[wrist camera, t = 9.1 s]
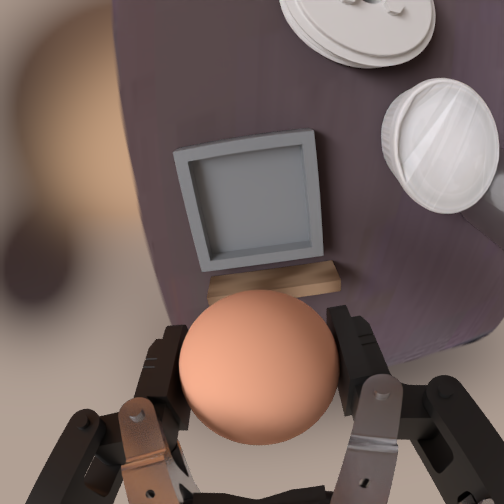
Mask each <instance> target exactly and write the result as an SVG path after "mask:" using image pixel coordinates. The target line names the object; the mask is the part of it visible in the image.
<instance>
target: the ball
mask: <svg viewBox="0 0 504 504" xmlns="http://www.w3.org/2000/svg"><path fill="white" fill-rule="evenodd" d="M339 374H340V364H339V354H338V350H337V345H336V342H335V339H334V337H333V335H332V333H331V331H330V329H329V327H328V326H327V324H326V323H325V322H324V320H323V319H322V318H321V317H320V316H319V315H318V314H317V313H316V312H315V311H314V310H313V309H312V308H311V307H310V306H308V305H307V304H305V303H304V302H302V301H300V300H299V299H297V298H295V297H293V296H290V295H287V294H284V293H280V292H276V291H270V290H249V291H243V292H239V293H235V294H232V295H229V296H227V297H225V298H222V299H220V300H219V301H217V302H216V303H214V304H213V305H211V306H210V307H209V308H207V309H206V310H205V311H204V312H203V313H202V314H201V315H200V316H199V317H198V318H197V319H196V320H195V322H194V323H193V324H192V326H191V328H190V329H189V331H188V333H187V335H186V337H185V339H184V342H183V345H182V348H181V352H180V358H179V379H180V383H181V387H182V391H183V394H184V396H185V398H186V401H187V403H188V405H189V406H190V408H191V409H192V411H193V412H194V414H195V415H196V416H197V418H198V419H199V420H200V421H201V422H202V423H203V424H204V425H205V426H207V427H208V428H209V429H211V430H212V431H214V432H215V433H216V434H218V435H220V436H222V437H224V438H227V439H229V440H231V441H234V442H238V443H242V444H248V445H269V444H276V443H280V442H284V441H287V440H289V439H292V438H294V437H296V436H298V435H300V434H302V433H303V432H305V431H306V430H307V429H309V428H310V427H311V426H313V425H314V424H315V423H316V422H317V421H318V420H319V419H320V417H321V416H322V415H323V414H324V412H326V410H327V408H328V407H329V405H330V403H331V401H332V399H333V397H334V395H335V392H336V389H337V386H338V380H339Z"/></svg>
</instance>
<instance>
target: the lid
mask: <svg viewBox="0 0 504 504" xmlns="http://www.w3.org/2000/svg"><path fill="white" fill-rule="evenodd" d="M279 1H280V5H281V9H282V11H283V14H284V16H285V18H286V20H287V22H288V23H289V25H290V26H291V28H292V29H293V31H294V32H295V33H296V34H297V35H298V37H299V38H300V39H301V40H303V41H304V42H305V43H306V44H307V45H308V46H309V47H311V48H312V49H313V50H314V51H316V52H318V53H319V54H321V55H323V56H324V57H326V58H328V59H330V60H332V61H335V62H338V63H340V64H343V65H347V66H351V67H357V68H379V67H385V66H393V65H397V64H401V63H404V62H406V61H409V60H411V59H412V58H414V57H416V56H417V55H418V54H420V53H421V52H422V51H423V50H424V49H425V47H426V46H427V45H428V43H429V41H430V39H431V37H432V35H433V32H434V27H435V7H434V2H433V0H364V1H363V0H279Z"/></svg>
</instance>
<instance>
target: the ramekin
mask: <svg viewBox="0 0 504 504" xmlns="http://www.w3.org/2000/svg"><path fill="white" fill-rule="evenodd" d="M381 140H382V151H383V154H384V158H385V160H386V162H387V165H388V166H389V168H390V170H391V171H392V173H393V174H394V176H395V177H396V178H397V179H398V180H399V182H400V184H401V186H402V187H403V189H404V190H405V192H406V193H407V194H408V195H409V196H410V197H411V198H412V199H413V200H414V201H415V202H417V203H418V204H419V205H421V206H423V207H424V208H426V209H428V210H430V211H433V212H436V213H442V214H453V213H458V212H461V211H463V210H465V209H467V208H469V207H471V206H472V205H474V204H475V203H476V202H477V201H478V200H479V199H480V198H481V197H482V196H483V195H484V194H485V192H486V191H487V189H488V188H489V186H490V184H491V182H492V180H493V178H494V175H495V173H496V170H497V165H498V161H499V138H498V132H497V128H496V124H495V121H494V119H493V116H492V114H491V112H490V110H489V108H488V106H487V105H486V103H485V102H484V101H483V99H482V98H481V97H480V96H479V95H478V94H477V93H476V92H475V91H474V90H473V89H472V88H470V87H469V86H468V85H466V84H464V83H462V82H459V81H457V80H453V79H448V78H435V79H429V80H426V81H423V82H421V83H419V84H417V85H416V86H414V87H413V88H412V89H409V90H407V91H405V92H404V93H402V94H400V95H399V96H398V97H397V98H396V99H395V100H394V101H393V102H392V103H391V105H390V107H389V108H388V109H387V112H386V114H385V116H384V120H383V123H382V129H381Z"/></svg>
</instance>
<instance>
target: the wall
mask: <svg viewBox="0 0 504 504" xmlns="http://www.w3.org/2000/svg"><path fill="white" fill-rule="evenodd" d="M249 290H270V291H276V292H280V293H284V294H287V295H290V296H293V297H295V298H296V297H303V296H310V295H317V294H324V293H330V292H337V291H341V279H340V277H339V275H338V272H337V270H336V268H335V266H334V264H333V261H332V260H331V261H324V262H317V263H310V264H303V265H296V266H289V267H281V268H274V269H267V270H259V271H251V272H244V273H236V274H228V275H221V276H213V277H211V279H210V285H209V290H208V295H207V300H208V303H209V306H211V305H213V304H214V303H216V302H217V301H219V300H220V299H222V298H225V297H227V296H229V295H232V294H235V293H239V292H243V291H249Z"/></svg>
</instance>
